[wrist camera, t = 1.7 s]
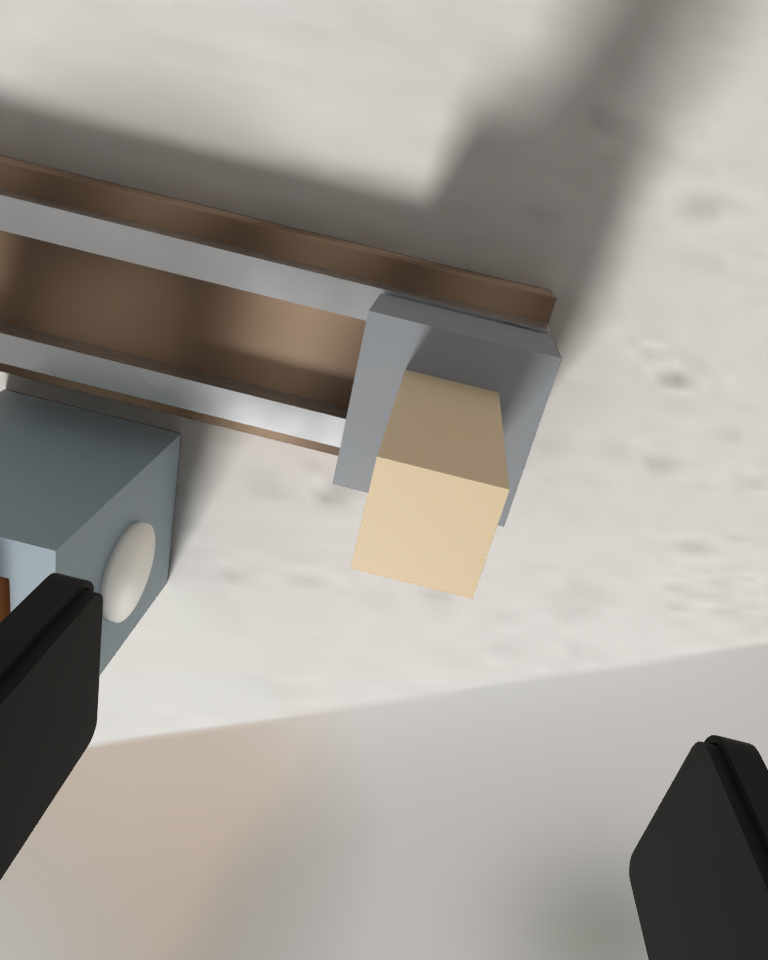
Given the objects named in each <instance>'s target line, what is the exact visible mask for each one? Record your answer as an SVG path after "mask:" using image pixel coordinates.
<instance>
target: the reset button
mask: <svg viewBox="0 0 768 960" xmlns="http://www.w3.org/2000/svg"><path fill="white" fill-rule="evenodd" d="M9 613H10V580H9V579H8V578H4V577H0V622H1V621H2V620H3V619H4V618H5V617H6V616H7V615H8V614H9Z"/></svg>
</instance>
